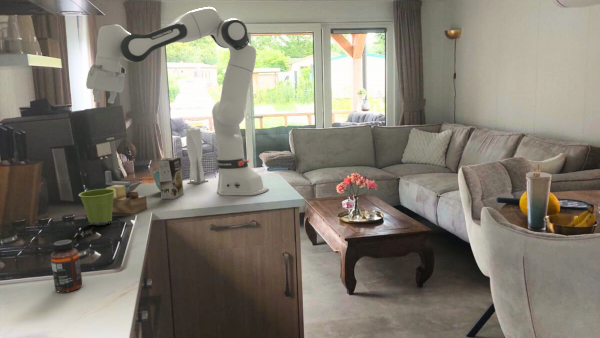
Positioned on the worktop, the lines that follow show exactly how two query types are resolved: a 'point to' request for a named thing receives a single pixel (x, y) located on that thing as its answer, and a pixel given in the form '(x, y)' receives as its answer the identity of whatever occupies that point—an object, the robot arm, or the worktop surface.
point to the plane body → (129, 203)
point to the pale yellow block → (118, 190)
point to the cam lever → (117, 183)
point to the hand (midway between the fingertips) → (104, 102)
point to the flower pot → (157, 179)
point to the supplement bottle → (66, 266)
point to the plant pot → (98, 204)
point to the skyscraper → (195, 155)
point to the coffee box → (170, 178)
